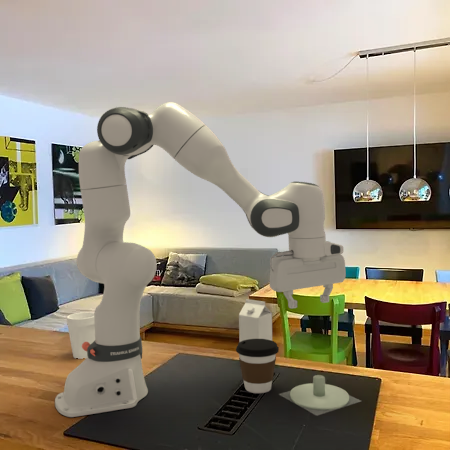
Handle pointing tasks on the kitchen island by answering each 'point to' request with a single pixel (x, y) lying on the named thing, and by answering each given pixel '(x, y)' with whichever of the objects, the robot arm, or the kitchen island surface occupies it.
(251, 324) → the milk carton
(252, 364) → the coffee cup
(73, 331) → the foam cup
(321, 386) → the lid
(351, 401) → the mat
